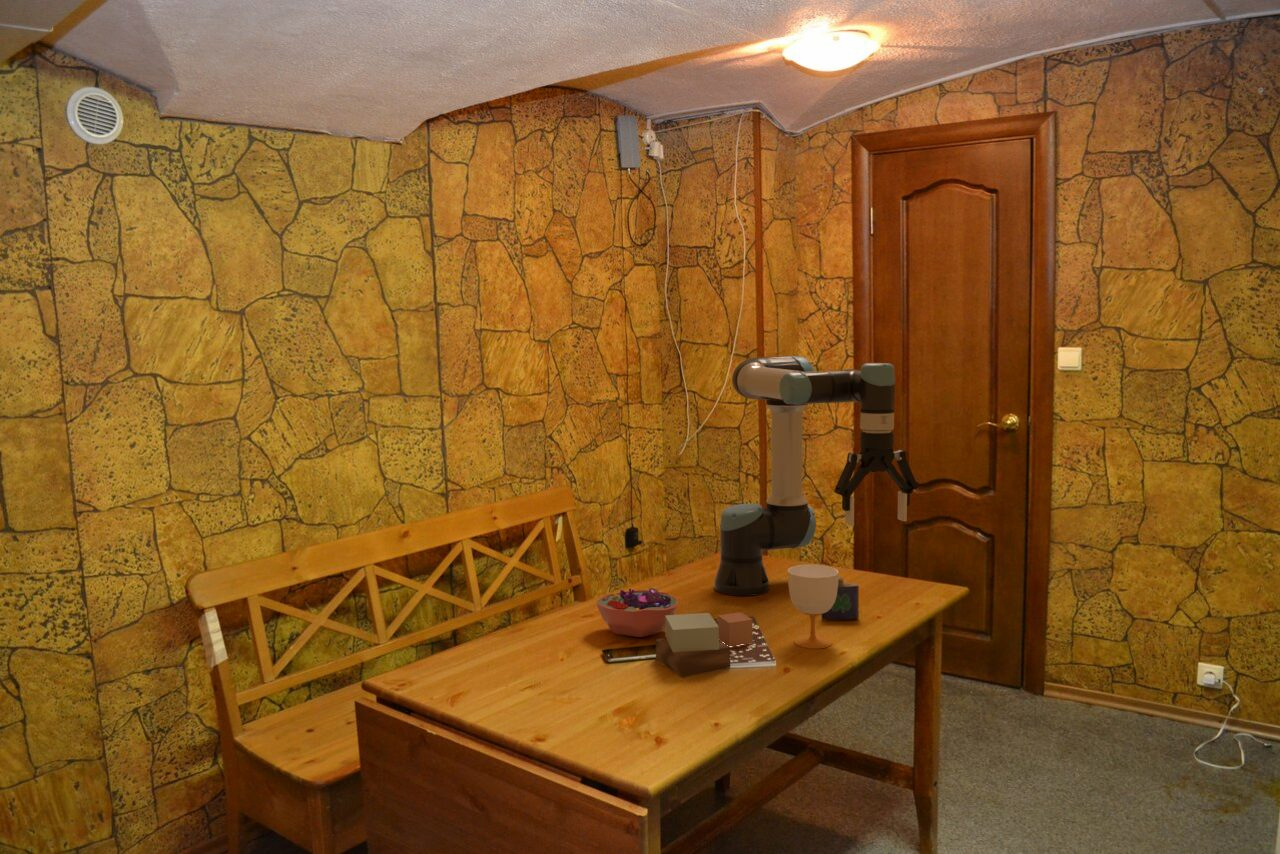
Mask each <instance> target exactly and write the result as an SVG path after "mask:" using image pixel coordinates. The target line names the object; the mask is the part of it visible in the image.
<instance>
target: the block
mask: <svg viewBox="0 0 1280 854" xmlns="http://www.w3.org/2000/svg"><path fill="white" fill-rule="evenodd" d="M717 625H718V626H719V639H720V640H721V641H723V642H724V643H725V644H726V645H728V646H736V645H740V644H747V643H753V637H754V635H753V618H751V617H749V616H748V615H746V614H744V613H742V611H741V612H733V613H732V612H731V613H726V614H720V615H719V614H718V615H717ZM721 641H720V642H721Z"/></svg>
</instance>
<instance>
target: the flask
mask: <svg viewBox="0 0 1280 854" xmlns="http://www.w3.org/2000/svg"><path fill="white" fill-rule="evenodd" d="M844 581H845V580H844V577H840V576H839V578H838V589H837V596H836V600H835V603H834V604H833V606H832V607H831V609H830V610H829V611H827V612H826V613H823V614H821V620H822V621H825V622H826V621H828V622H841V621H842V622H849V621H852V622H853V621H858V620H859V617H860V615H859V614H860V613H859V608H860V607H859V602H860V601H859V599H860V598H859V597H860V593H859V591H860V589H859V588H860V587H859V586H860V585H859V584H858V583H845V582H844Z"/></svg>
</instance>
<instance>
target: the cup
mask: <svg viewBox="0 0 1280 854" xmlns="http://www.w3.org/2000/svg"><path fill="white" fill-rule="evenodd" d="M839 574H840V572H839V570H838V569H837V568H835V567H831V566H828V565H824V564H823V565H822V564H809V563H808V564H807V563H806V564H798V565H794V566H791V567H790V568H788V569H787V580H788V581H787V583H788V592H789V593H788V594H789V597H790V600H791V603H792V605H793V607H794V608H795V609H796V610H798V611H799V612H801V613H802V614H804V615H808V616H809V617H810V632H809V633H810V634H802V635H797V636H795V638H793V643H794V645H796V646H798V647H801V648H804V649H811V650H812V649H816V650H818V649H826V648H829V647H830V646H831V645H833V640H832V639H831V638H829V637H827V636H824V635H819V634H816V617H817V616H820V615H821V614H823V613H826V612H827V611H829V610H830V609H831V607H832V606H833V604H834V603H835V600H836V596H837V589H838V580H839V579H838V578H840V575H839ZM821 616H822V615H821Z"/></svg>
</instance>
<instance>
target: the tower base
mask: <svg viewBox="0 0 1280 854" xmlns="http://www.w3.org/2000/svg"><path fill="white" fill-rule="evenodd" d="M655 661H658V662H659V663H660V664H661V665H663V666H664V667H666V668H667V669H669V670H670V671H672V672H673V673H674V674H676V675H677V676H679V677H680V678H687V677H691V676H697V675H702V674H705V673H711V672H712V673H713V672H716V671H721V670H725V669H731V648H730V647H729V646H727V645H726V644H724V643H722V642H721V641H719V650H704V651H689V652H674V653H673V651H672V649H671V647H670V645H669V643H668V641H667V639H666V637H663V638H658V639H655Z"/></svg>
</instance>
